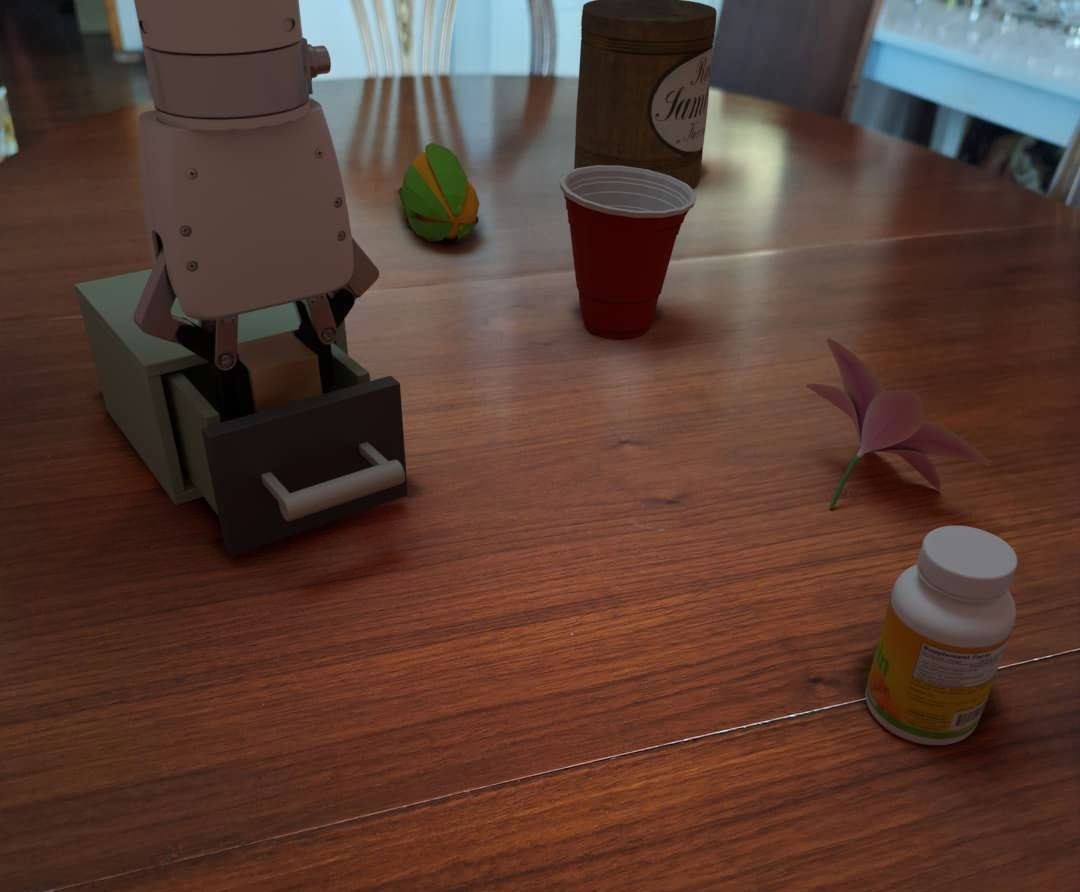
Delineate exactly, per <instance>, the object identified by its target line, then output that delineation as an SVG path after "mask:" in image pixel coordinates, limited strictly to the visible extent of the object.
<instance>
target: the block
mask: <svg viewBox="0 0 1080 892" xmlns="http://www.w3.org/2000/svg"><path fill="white" fill-rule="evenodd" d="M237 353H238V355H239V360H240V361H241V362H242V363H243V364H244V365H245V366H246V368H247V371H248V375H249V381H250V387H251V393H252V399H253V405H254V411H255V413H258V412H261V411H265V410H268V409H272V408H276V407H279V406H283V405H286V404H290V403H294V402H297V401H301V400H304V399H308V398H312V397H315V396H319V395H322V388H321V379H320V371H319V363H318V356H317V354H315V353H314V352H313V351H312V350H311V349H309V348H308V347H307V346H306V345H305V344H304V343H302V342H301V341H300V340H299V339H298V338H296V337H295V336H294V335H293V334H292V333H291V332H290V331H288V332H283V333H279V334H275V335H271V336H267V337H263V338H259V339H255V340H251V341H247V342H243V343H239V344H237Z"/></svg>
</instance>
